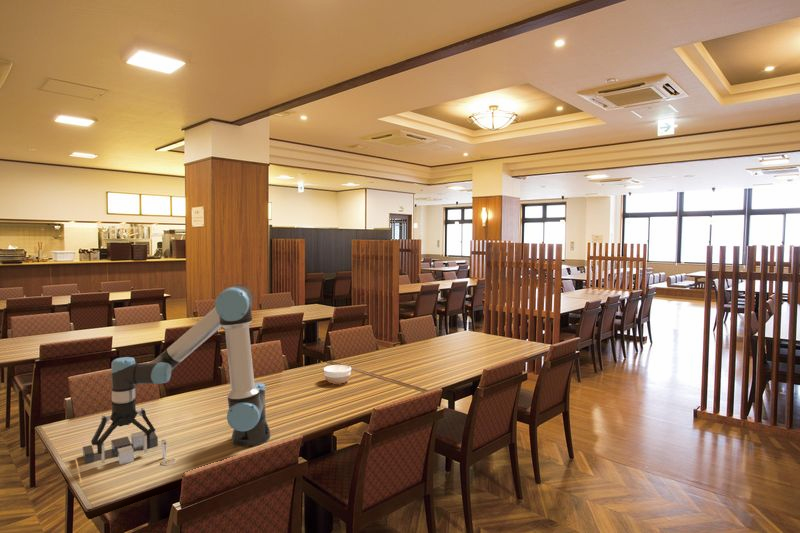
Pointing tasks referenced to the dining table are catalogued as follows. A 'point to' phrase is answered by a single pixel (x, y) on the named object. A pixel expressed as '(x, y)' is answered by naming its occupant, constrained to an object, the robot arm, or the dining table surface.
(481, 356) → the dining table surface
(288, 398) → the dining table surface
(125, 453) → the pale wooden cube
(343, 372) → the bowl
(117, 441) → the rail
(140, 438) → the light grey cube
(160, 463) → the stand
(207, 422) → the dining table surface
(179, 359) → the robot arm
